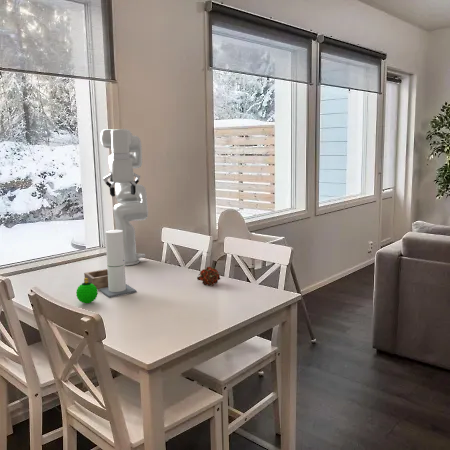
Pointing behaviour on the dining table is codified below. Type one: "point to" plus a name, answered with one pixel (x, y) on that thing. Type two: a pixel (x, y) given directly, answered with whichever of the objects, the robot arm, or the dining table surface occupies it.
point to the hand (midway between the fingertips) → (123, 195)
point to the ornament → (86, 292)
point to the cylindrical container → (115, 260)
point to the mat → (113, 294)
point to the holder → (98, 278)
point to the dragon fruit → (209, 276)
